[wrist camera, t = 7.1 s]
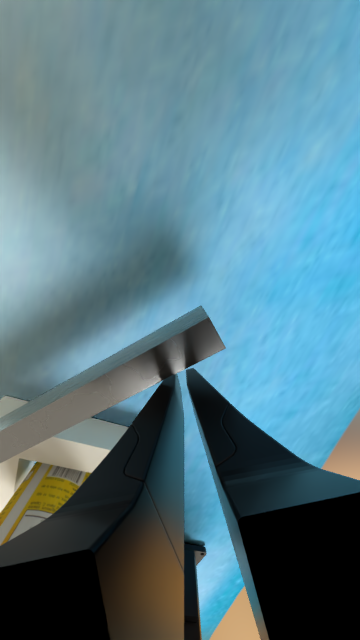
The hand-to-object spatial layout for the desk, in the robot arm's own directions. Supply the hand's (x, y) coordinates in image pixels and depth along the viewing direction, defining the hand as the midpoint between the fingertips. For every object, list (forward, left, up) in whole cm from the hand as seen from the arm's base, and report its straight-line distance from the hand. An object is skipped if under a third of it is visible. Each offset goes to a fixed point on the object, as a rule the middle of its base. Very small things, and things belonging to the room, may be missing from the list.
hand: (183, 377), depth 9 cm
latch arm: (-4, +6, -1) cm, 7 cm away
